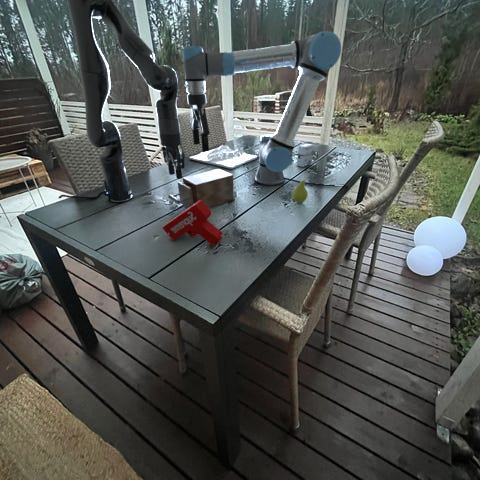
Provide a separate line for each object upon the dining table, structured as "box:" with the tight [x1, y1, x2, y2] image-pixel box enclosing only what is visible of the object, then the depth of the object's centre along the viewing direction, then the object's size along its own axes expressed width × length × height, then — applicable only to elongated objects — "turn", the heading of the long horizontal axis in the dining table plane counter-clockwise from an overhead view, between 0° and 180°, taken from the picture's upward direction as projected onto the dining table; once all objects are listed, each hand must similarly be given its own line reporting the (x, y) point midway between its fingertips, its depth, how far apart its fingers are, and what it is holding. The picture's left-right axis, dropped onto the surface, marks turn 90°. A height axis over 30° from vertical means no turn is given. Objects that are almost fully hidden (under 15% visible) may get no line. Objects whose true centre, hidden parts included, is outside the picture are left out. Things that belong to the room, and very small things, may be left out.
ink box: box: [296, 143, 314, 168], centre depth 163 cm, size 8×5×12 cm, turn 135°
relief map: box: [189, 144, 258, 170], centre depth 177 cm, size 27×35×5 cm
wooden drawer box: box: [182, 168, 234, 209], centre depth 120 cm, size 19×11×12 cm, turn 129°
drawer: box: [167, 181, 196, 209], centre depth 116 cm, size 23×10×10 cm, turn 129°
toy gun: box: [162, 200, 224, 248], centre depth 93 cm, size 18×4×15 cm
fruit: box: [291, 174, 311, 204], centre depth 118 cm, size 7×8×12 cm
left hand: (175, 176), depth 107 cm, fingers open, 5 cm apart
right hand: (201, 147), depth 120 cm, fingers open, 13 cm apart
